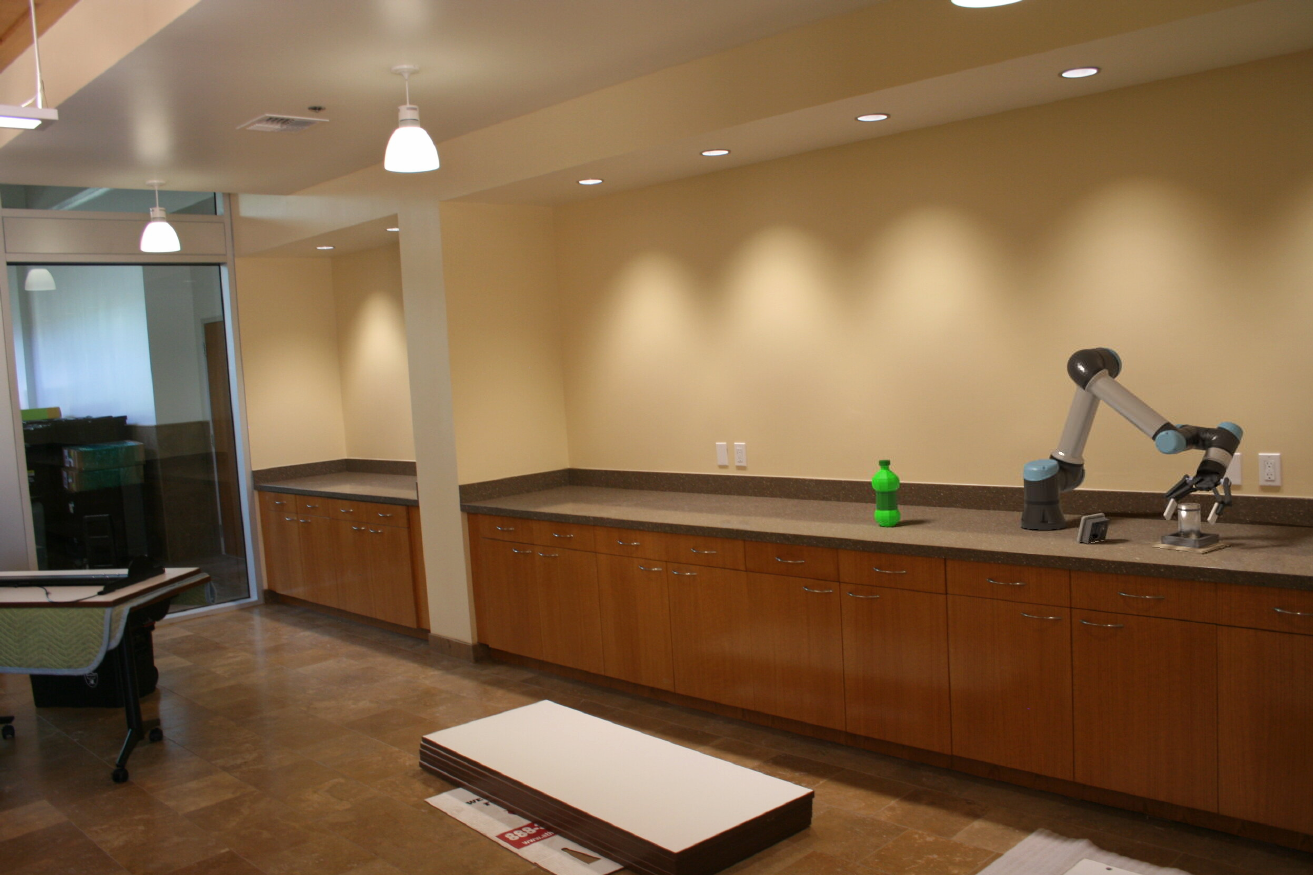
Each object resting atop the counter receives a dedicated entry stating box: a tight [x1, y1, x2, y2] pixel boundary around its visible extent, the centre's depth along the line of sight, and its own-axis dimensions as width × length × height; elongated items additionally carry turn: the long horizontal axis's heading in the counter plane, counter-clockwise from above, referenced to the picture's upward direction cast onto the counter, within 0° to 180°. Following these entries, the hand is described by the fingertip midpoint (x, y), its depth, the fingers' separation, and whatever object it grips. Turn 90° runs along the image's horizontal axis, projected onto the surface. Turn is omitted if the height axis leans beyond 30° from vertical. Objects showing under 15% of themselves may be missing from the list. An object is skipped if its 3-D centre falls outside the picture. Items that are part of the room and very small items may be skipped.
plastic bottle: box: [871, 459, 902, 528], centre depth 363 cm, size 10×10×25 cm
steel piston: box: [1176, 502, 1202, 539], centre depth 294 cm, size 6×6×12 cm
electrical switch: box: [1076, 512, 1110, 545], centre depth 309 cm, size 9×5×9 cm, turn 113°
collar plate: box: [1149, 530, 1232, 552], centre depth 294 cm, size 16×16×4 cm
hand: (1187, 520), depth 293 cm, fingers open, 13 cm apart
